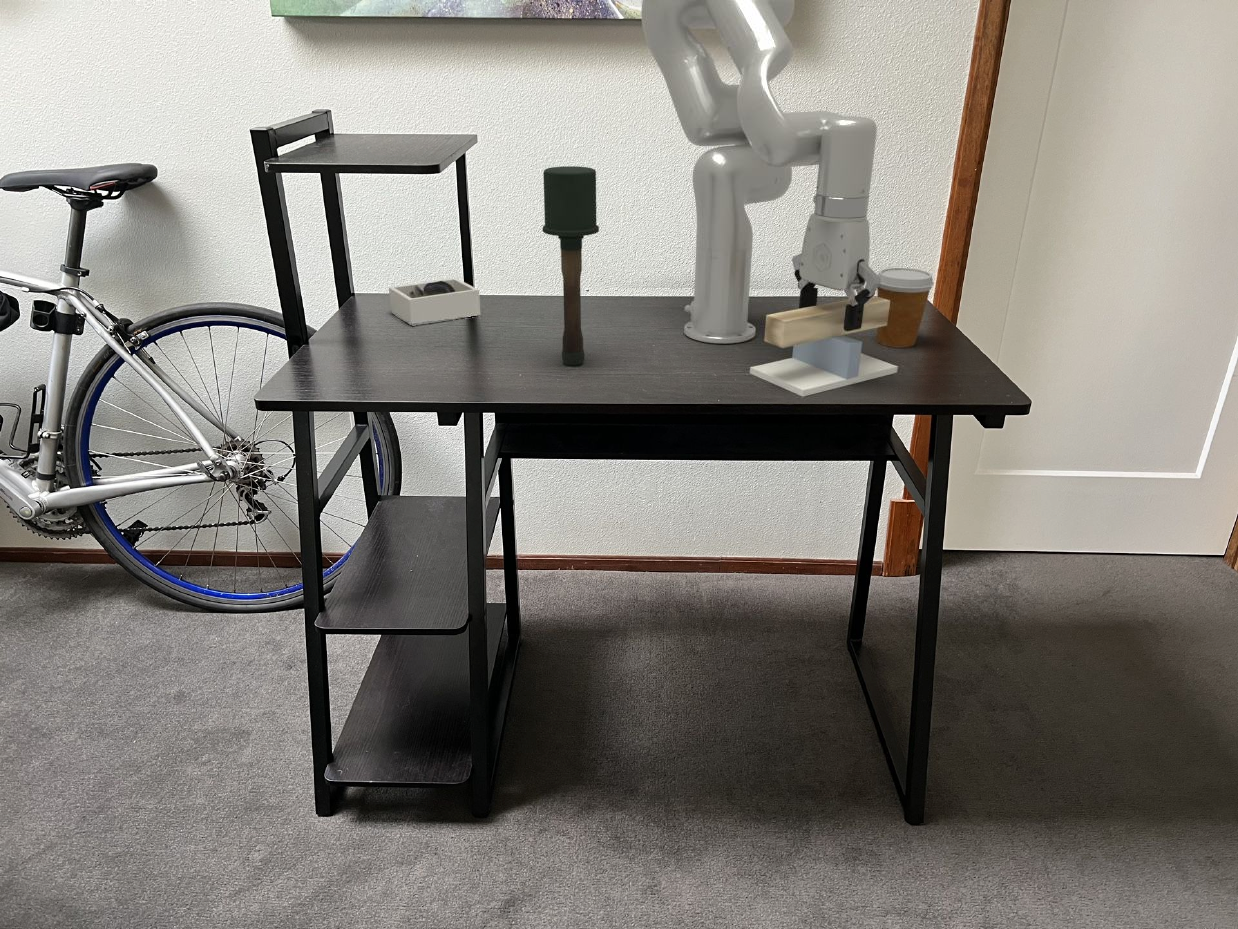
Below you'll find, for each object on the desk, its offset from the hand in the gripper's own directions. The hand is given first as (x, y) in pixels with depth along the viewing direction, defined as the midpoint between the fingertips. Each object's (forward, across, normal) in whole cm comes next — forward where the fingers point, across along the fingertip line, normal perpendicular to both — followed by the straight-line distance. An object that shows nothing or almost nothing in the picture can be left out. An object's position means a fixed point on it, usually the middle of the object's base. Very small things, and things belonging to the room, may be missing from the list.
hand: (829, 321), depth 139 cm
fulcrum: (+8, 0, 0) cm, 8 cm away
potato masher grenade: (+8, -25, -31) cm, 41 cm away
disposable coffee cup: (+8, -5, +22) cm, 24 cm away
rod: (+2, 0, 0) cm, 2 cm away
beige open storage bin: (+8, -63, -39) cm, 75 cm away
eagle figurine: (+8, -63, -39) cm, 74 cm away
